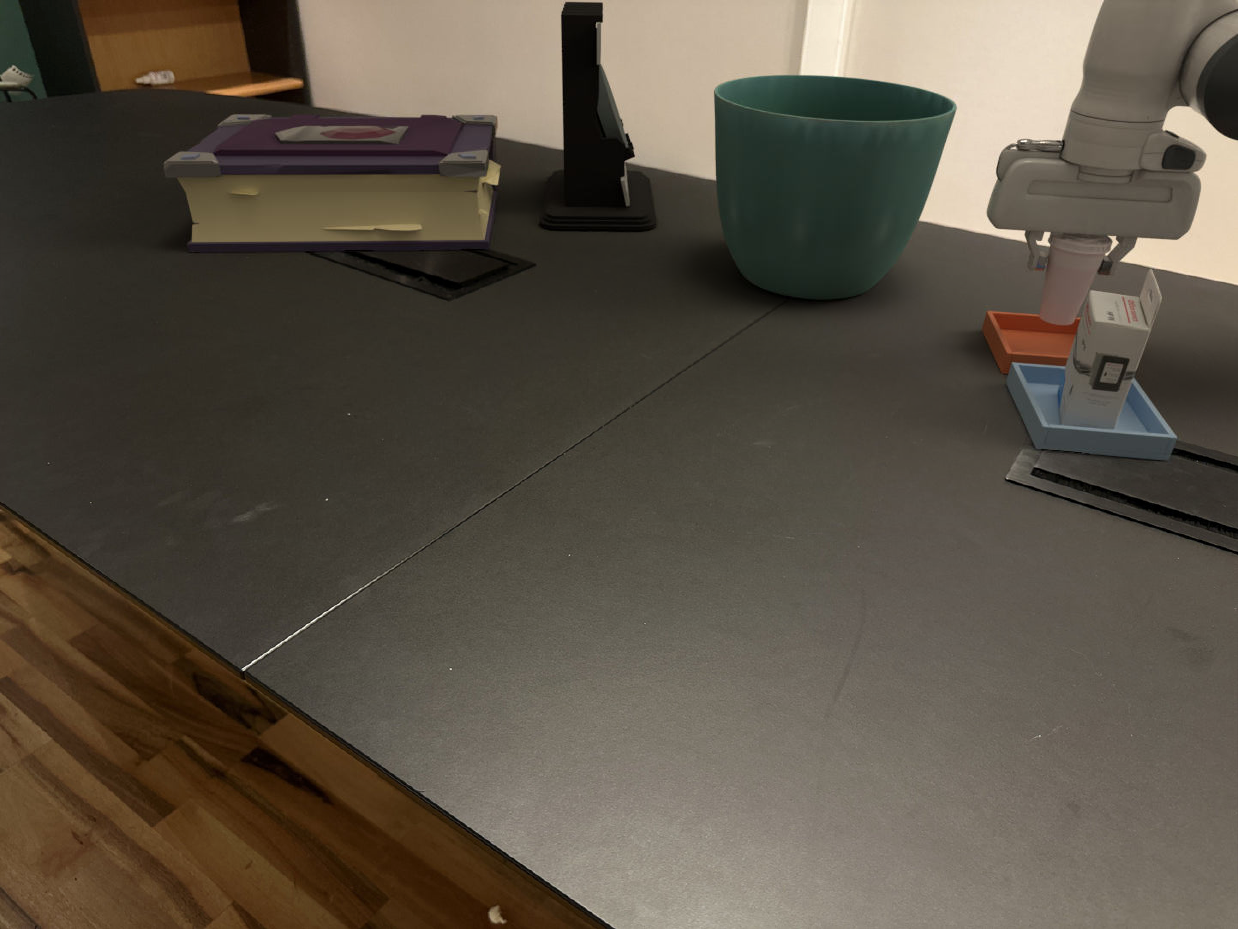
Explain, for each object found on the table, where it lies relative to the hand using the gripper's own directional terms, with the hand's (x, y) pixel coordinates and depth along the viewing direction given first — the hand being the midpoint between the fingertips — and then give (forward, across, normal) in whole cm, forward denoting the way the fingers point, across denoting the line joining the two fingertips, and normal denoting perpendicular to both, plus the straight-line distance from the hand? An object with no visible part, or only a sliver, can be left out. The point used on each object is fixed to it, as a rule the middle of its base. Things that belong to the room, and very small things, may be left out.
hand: (1069, 271), depth 100 cm
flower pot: (+10, -27, +20) cm, 35 cm away
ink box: (+10, 0, -16) cm, 18 cm away
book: (+11, -98, +34) cm, 104 cm away
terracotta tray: (+10, 0, 0) cm, 10 cm away
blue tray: (+10, 0, -16) cm, 19 cm away
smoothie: (+6, 0, 0) cm, 6 cm away
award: (+11, -62, +50) cm, 80 cm away
